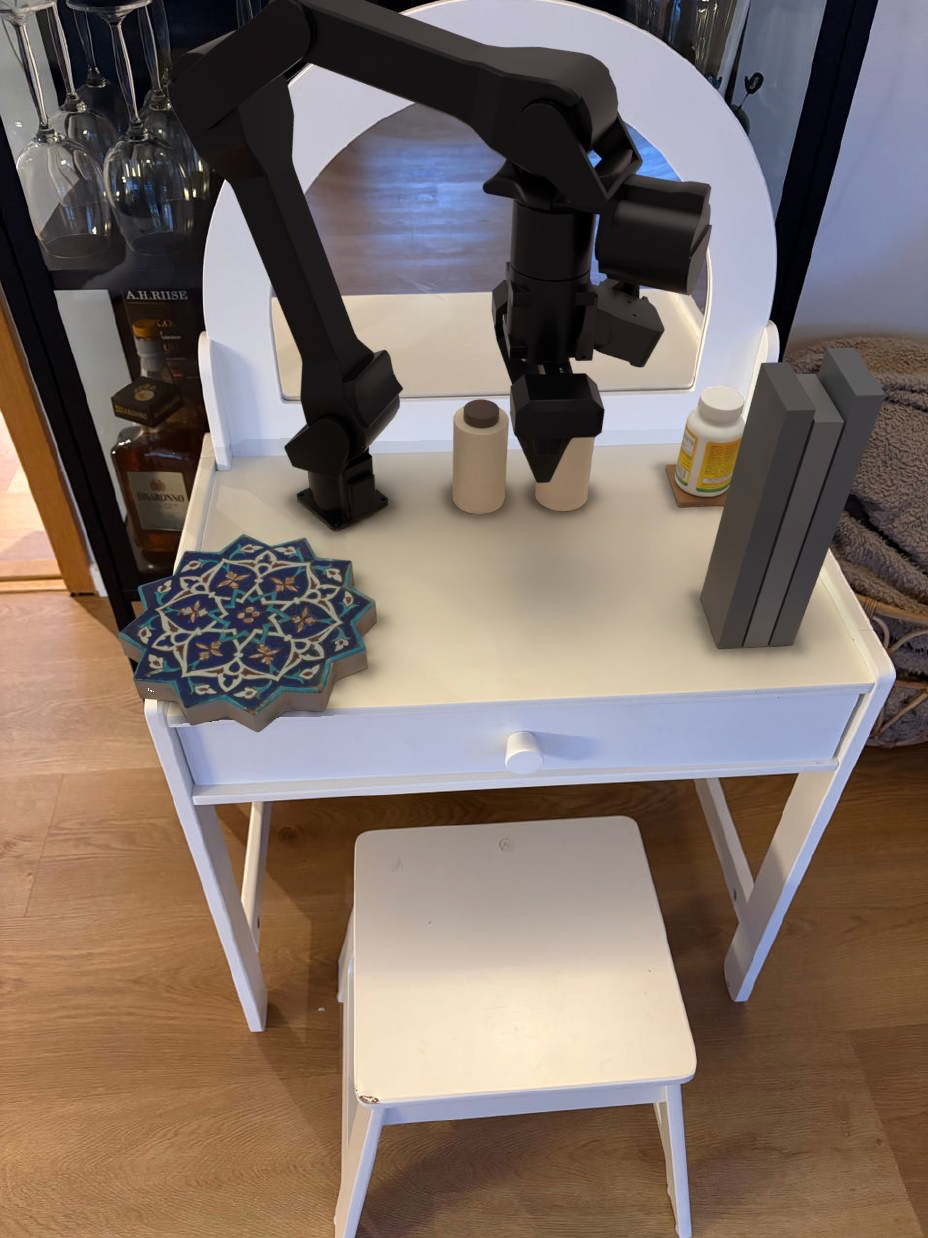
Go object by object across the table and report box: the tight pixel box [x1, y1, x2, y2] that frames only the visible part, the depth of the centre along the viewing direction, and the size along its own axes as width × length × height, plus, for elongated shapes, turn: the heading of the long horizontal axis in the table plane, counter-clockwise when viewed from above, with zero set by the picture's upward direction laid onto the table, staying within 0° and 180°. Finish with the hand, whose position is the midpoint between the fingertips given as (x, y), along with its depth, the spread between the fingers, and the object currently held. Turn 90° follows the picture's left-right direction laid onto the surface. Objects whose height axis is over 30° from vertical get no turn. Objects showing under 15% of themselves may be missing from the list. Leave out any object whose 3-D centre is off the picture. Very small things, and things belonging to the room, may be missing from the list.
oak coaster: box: [665, 463, 729, 508], centre depth 96 cm, size 6×6×1 cm
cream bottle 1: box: [452, 398, 510, 515], centre depth 91 cm, size 5×5×10 cm
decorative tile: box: [117, 533, 378, 733], centre depth 80 cm, size 20×20×2 cm
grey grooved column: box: [699, 347, 886, 649], centre depth 75 cm, size 6×6×24 cm
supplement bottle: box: [675, 385, 746, 497], centre depth 92 cm, size 5×5×10 cm
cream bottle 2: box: [534, 437, 596, 512], centre depth 91 cm, size 5×5×10 cm
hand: (535, 447), depth 80 cm, fingers open, 9 cm apart
